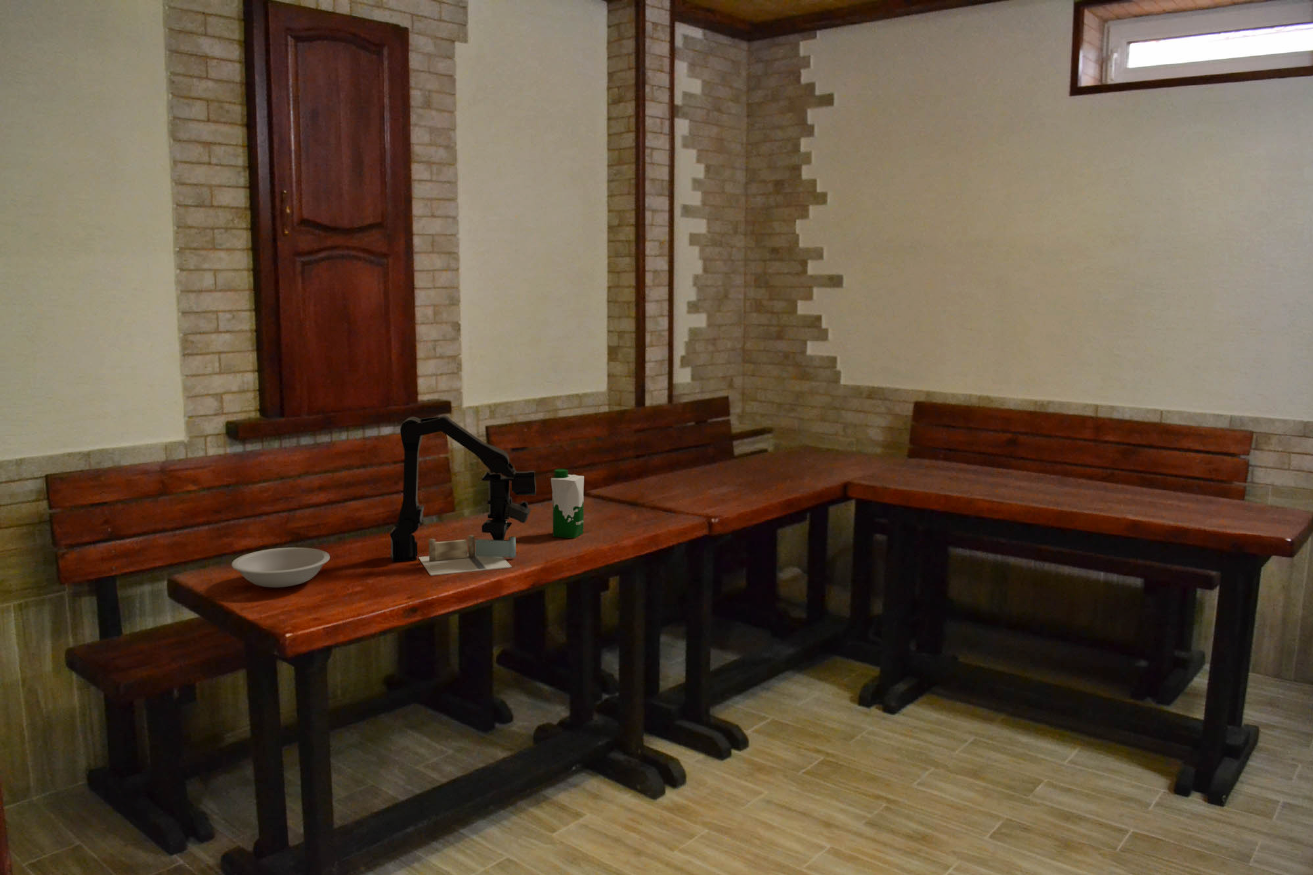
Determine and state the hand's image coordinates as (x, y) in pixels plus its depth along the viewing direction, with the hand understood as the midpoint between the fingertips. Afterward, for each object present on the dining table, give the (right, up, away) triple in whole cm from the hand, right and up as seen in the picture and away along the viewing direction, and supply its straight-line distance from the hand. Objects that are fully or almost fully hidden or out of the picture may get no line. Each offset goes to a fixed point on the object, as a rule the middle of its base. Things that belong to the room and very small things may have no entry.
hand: (500, 549), depth 314 cm
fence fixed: (-13, -2, -3) cm, 13 cm away
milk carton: (+17, +2, +25) cm, 30 cm away
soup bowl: (-53, -7, -26) cm, 59 cm away
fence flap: (-1, -2, -2) cm, 3 cm away
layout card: (-9, -3, -6) cm, 11 cm away
